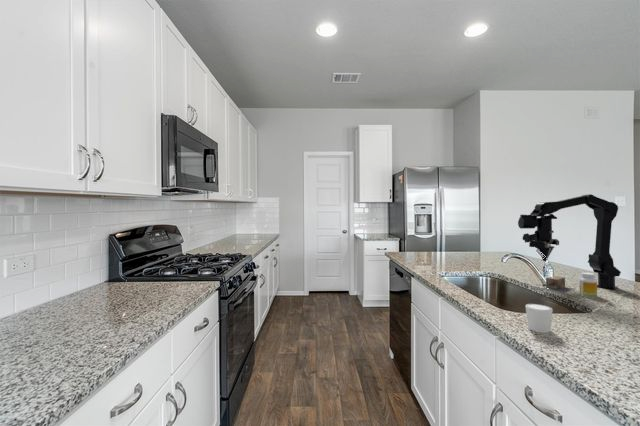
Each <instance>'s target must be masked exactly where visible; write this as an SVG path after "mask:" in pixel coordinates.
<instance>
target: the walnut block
mask: <svg viewBox="0 0 640 426" xmlns="http://www.w3.org/2000/svg"><path fill="white" fill-rule="evenodd" d="M552 276H553V278H552V277H551V276H549V277H546V278H545V281H546V283H545V284H546V288H551V289H557V290H559V289H561V288H564V287H566V277H564V276H558V275H552Z"/></svg>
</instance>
